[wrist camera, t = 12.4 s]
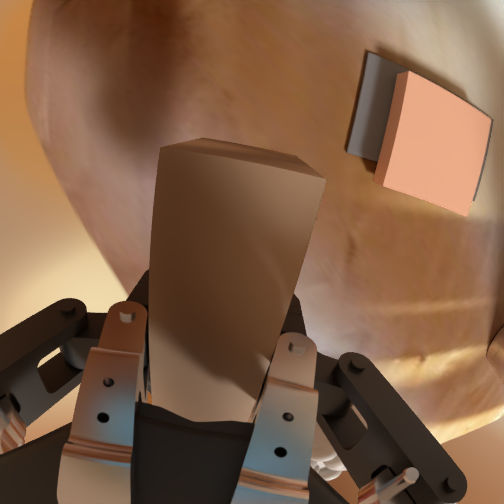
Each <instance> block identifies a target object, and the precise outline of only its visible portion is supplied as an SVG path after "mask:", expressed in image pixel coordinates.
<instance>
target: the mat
mask: <svg viewBox="0 0 504 504" xmlns="http://www.w3.org/2000/svg"><path fill="white" fill-rule="evenodd" d="M406 71H411V70H409V69H407V68H405V67H403V66H401V65H398V64H396V63H394V62H392V61H389V60H387V59H385V58H382V57H380V56H377V55H375V54H372V53H370V52H368V53H367V59H366V64H365V70H364V75H363V80H362V85H361V90H360V94H359V99H358V104H357V108H356V113H355V117H354V121H353V126H352V130H351V134H350V138H349V143H348V147H347V151H346V152H347V153H350V154H354V155H357V156H360V157H363V158H366V159H369V160H372V161H375V162H378V159H379V156H380V152H381V148H382V144H383V140H384V135H385V131H386V127H387V122H388V118H389V113H390V109H391V104H392V99H393V94H394V89H395V83H396V78H397V74H399V73H403V72H406ZM411 72H413V71H411ZM413 73H415V72H413ZM415 74H417V73H415ZM417 75H419V74H417ZM419 76H421V75H419ZM421 77H423V76H421ZM423 78H425V77H423ZM425 79H427V78H425ZM427 80H429V79H427ZM429 81H430V82H432V83H434V84H436V83H435V82H433V81H431V80H429ZM436 85H438V84H436ZM438 86H440V85H438ZM440 87H441V88H443V89H445V88H444V87H442V86H440ZM445 90H447V89H445ZM447 91H448V92H450V93H452V92H451V91H449V90H447ZM452 94H453V95H455V96H457V95H456V94H454V93H452ZM457 97H458V98H460V97H459V96H457ZM460 99H462V98H460ZM462 100H463V101H465V100H464V99H462ZM465 102H466V103H468V102H467V101H465ZM468 104H470V103H468ZM470 105H471V104H470ZM471 106H473V105H471ZM473 107H474V106H473ZM474 108H476V107H474ZM476 109H477V108H476ZM477 110H479V109H477ZM479 111H480V110H479ZM480 112H482V111H480ZM482 113H483V112H482ZM483 114H484V115H486V114H485V113H483ZM486 116H487V117H489V116H488V115H486ZM489 118H490V117H489ZM490 119H491V125H490V130H489V136H488V141H487V146H486V151H485V155H484V160H483V164H482V168H481V172H480V176H479V180H478V183H477V187H476V190H475V194H474V197H473V200H472V201H475V197H476V194H477V191H478V187H479V184H480V180H481V176H482V173H483V169H484V165H485V160H486V156H487V151H488V147H489V142H490V137H491V131H492V125H493V119H492V118H490Z"/></svg>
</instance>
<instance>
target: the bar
mask: <svg viewBox="0 0 504 504" xmlns="http://www.w3.org/2000/svg"><path fill="white" fill-rule="evenodd" d="M326 180H327V179H325V178H324V177H323V176H322V175H320V174H319V173H318V172H317V171H315V170H314V169H313V168H311V167H310V166H309V165H307V164H306V163H305V162H303V161H302V160H301V159H299V158H298V157H297V156H294V155H290V154H286V153H281V152H277V151H272V150H267V149H263V148H258V147H253V146H248V145H242V144H237V143H231V142H226V141H220V140H214V139H207V138H200V139H195V140H191V141H186V142H182V143H177V144H173V145H169V146H165V147H161V148H160V154H159V161H158V169H157V177H156V186H155V195H154V206H153V217H152V230H151V245H150V265H149V358H150V378H151V393H152V405H156V406H160V407H162V408H164V409H166V410H169V411H171V412H173V413H175V414H177V415H179V416H182V417H184V418H186V419H189V420H191V421H194V422H210V421H229V420H232V421H240V422H248V420H249V417H250V415H251V412H252V410H253V407H254V404H255V402H256V399H257V396H258V394H259V391H260V388H261V386H262V383H263V380H264V378H265V375H266V372H267V369H268V367H269V364H270V361H271V358H272V355H273V353H274V350H275V347H276V344H277V341H278V338H279V335H280V332H281V329H282V327H283V324H284V321H285V318H286V315H287V312H288V309H289V305H290V302H291V299H292V296H293V293H294V290H295V287H296V284H297V280H298V277H299V274H300V271H301V268H302V264H303V261H304V258H305V254H306V251H307V248H308V244H309V241H310V238H311V234H312V231H313V227H314V224H315V220H316V217H317V213H318V209H319V206H320V202H321V198H322V195H323V191H324V187H325V184H326Z"/></svg>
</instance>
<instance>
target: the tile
mask: <svg viewBox="0 0 504 504" xmlns="http://www.w3.org/2000/svg"><path fill="white" fill-rule="evenodd" d="M490 125H491V119H490V118H489V117H487V116H486V115H484V114H483V113H482V112H480V111H479V110H477V109H476V108H474V107H473V106H471V105H470V104H468V103H466V102H465V101H463V100H462V99H460V98H458V97H457V96H455V95H453V94H452V93H450V92H448V91H447V90H445V89H443V88H441V87H440V86H438V85H436V84H434V83H432V82H430V81H429V80H427V79H425V78H423V77H421V76H419V75H417V74H415V73H413V72H411V71H406V72H403V73H399V74H397V78H396V83H395V89H394V94H393V99H392V104H391V109H390V113H389V118H388V122H387V127H386V131H385V135H384V140H383V144H382V148H381V152H380V156H379V159H378V163H377V167H376V171H375V174H374V178H373V181H374V182H376V183H378V184H380V185H382V186H384V187H387V188H390V189H393V190H396V191H399V192H402V193H405V194H408V195H411V196H414V197H417V198H419V199H422V200H425V201H428V202H430V203H433V204H436V205H438V206H441V207H443V208H446V209H449V210H451V211H454V212H456V213H459V214H461V215H463V216H466V217H467V216H468V213H469V210H470V207H471V203H472V200H473V197H474V194H475V190H476V187H477V183H478V180H479V176H480V172H481V168H482V164H483V160H484V155H485V151H486V146H487V141H488V136H489V130H490Z"/></svg>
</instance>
